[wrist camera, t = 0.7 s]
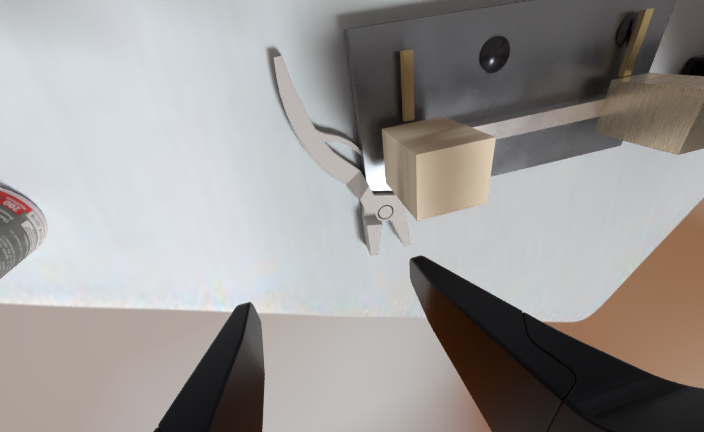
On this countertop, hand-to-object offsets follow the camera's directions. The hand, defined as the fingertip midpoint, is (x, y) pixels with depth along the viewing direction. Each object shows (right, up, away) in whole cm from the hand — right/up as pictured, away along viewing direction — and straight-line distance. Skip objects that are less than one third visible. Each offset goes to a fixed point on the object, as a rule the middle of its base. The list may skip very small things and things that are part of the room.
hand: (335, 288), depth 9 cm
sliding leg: (+4, +9, +9) cm, 13 cm away
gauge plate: (+11, +11, +11) cm, 19 cm away
